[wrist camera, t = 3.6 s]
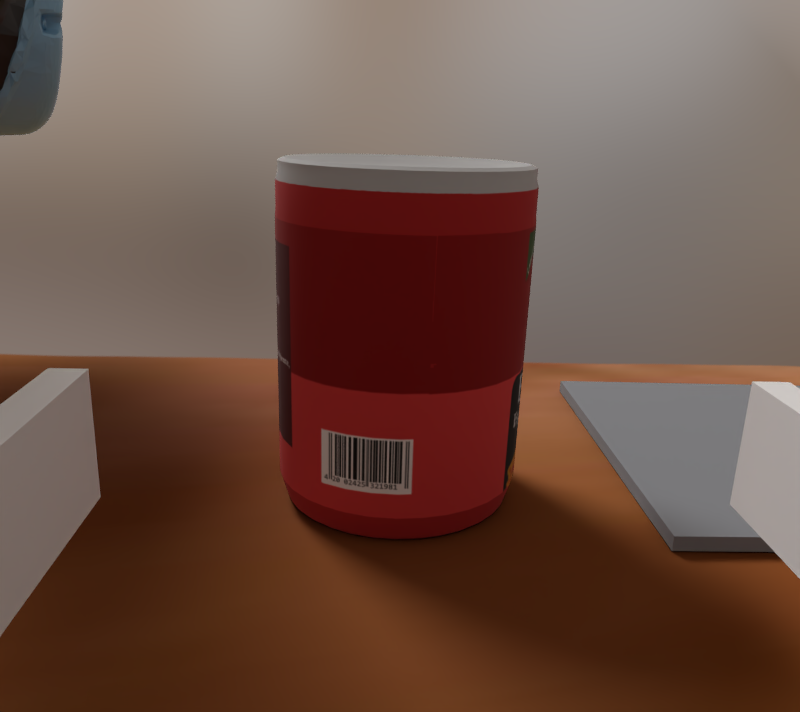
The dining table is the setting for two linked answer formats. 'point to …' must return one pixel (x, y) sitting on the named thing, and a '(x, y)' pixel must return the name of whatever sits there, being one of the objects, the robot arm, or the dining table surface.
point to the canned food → (401, 336)
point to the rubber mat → (674, 455)
